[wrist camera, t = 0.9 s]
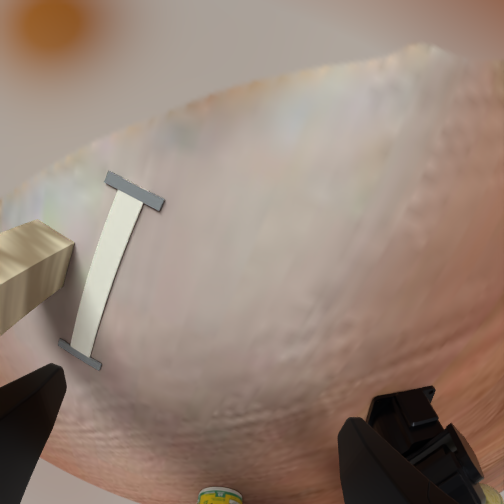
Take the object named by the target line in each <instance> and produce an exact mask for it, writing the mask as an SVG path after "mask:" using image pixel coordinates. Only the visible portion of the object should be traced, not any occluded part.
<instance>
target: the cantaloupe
mask: <svg viewBox="0 0 504 504" xmlns="http://www.w3.org/2000/svg"><path fill="white" fill-rule="evenodd" d="M479 484H480V486H481V488H482V490H483V492H484V494H485V496H486V502H485V504H504V502H503V498H502V497H501V495H500V494H499V492H498V491H497V490H495V489H494V488H492V487H490V486H489V485H486V484H481V483H479Z"/></svg>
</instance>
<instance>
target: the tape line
mask: <svg viewBox="0 0 504 504" xmlns="http://www.w3.org/2000/svg"><path fill="white" fill-rule="evenodd" d="M104 182H105V183H107V184H109V185H110V186H112V187H114V188H116V189H118V191H117V194H116V196H115V199H114V201H113V204H112V207H111V209H110V212H109V214H108V217H107V220H106V223H105V225H104V228H103V231H102V234H101V237H100V240H99V242H98V245H97V248H96V251H95V255H94V258H93V261H92V264H91V267H90V270H89V274H88V277H87V281H86V284H85V288H84V291H83V295H82V298H81V302H80V306H79V310H78V314H77V318H76V322H75V326H74V331H73V335H72V340H71V344H69V343H67V342H65V341H64V340H62V339H61V338H60V339H59V343H58V346H60V347H61V348H63V349H64V350H66V351H67V352H69V353H70V354H72V355H74V356H75V357H77V358H78V359H80V360H82V361H83V362H85V363H87V364H88V365H90V366H92V367H93V368H95V369H97V370H98V371H99V370H100V368H101V365H102V364H101V363H100V362H98V361H96V360H95V359H93V358H91V357H90V355H91V351H92V348H93V344H94V341H95V337H96V334H97V330H98V327H99V324H100V320H101V317H102V314H103V311H104V308H105V304H106V301H107V298H108V295H109V292H110V289H111V286H112V284H113V281H114V278H115V275H116V272H117V269H118V267H119V264H120V261H121V259H122V256H123V253H124V251H125V248H126V245H127V243H128V240H129V238H130V235H131V233H132V230H133V228H134V225H135V223H136V221H137V218H138V216H139V213H140V211H141V209H142V206H143V204H144V203H145V204H147V205H148V206H150V207H152V208H154V209H156V210H158V211H160V209H161V207H162V205H163V202H164V200H165V199H163V198H161V197H159V196H157V195H155V194H153V193H151V192H150V191H148V190H146V189H144V188H142V187H140V186H138V185H136V184H134V183H132V182H130V181H128V180H126V179H125V178H122V177H120V176H119V175H117V174H115V173H113V172H111V171H108V173H107V176H106V178H105V181H104Z"/></svg>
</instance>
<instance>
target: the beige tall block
mask: <svg viewBox="0 0 504 504" xmlns="http://www.w3.org/2000/svg"><path fill="white" fill-rule="evenodd" d="M73 246H74V242H73V241H71V240H69V239H68V238H66V237H65V236H63V235H61V234H60V233H58V232H57V231H55V230H53V229H52V228H50V227H49V226H47V225H46V224H44V223H43V222H41V221H39V220H38V219H37V220H34V221H31V222H28V223H25V224H23V225H20V226H17V227H15V228H12V229H9V230H7V231H4V232H2V233H0V336H1V335H2V334H4V333H5V332H6V331H7V330H8V329H10V328H11V327H12V326H13V325H14V324H16V323H17V322H18V321H19V320H20V319H22V318H23V317H24V316H25V315H27V314H28V313H29V312H30V311H32V310H33V309H34V308H35V307H37V306H38V305H39V304H41V303H42V302H43V301H44V300H46V299H47V298H48V297H50V296H51V295H52V294H54V293H55V292H56V291H58V290H59V289H60V288H62V287H63V285H64V280H65V276H66V272H67V268H68V265H69V261H70V257H71V253H72V250H73Z"/></svg>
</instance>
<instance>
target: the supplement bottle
mask: <svg viewBox="0 0 504 504" xmlns="http://www.w3.org/2000/svg"><path fill="white" fill-rule="evenodd" d="M197 504H242V496H241V494H240V493H239V492H237V491H235V490H233V489H230V488H225V487H208V488H205V489H203V490H202V491H201V492H200V493H199V496H198V502H197Z"/></svg>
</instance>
